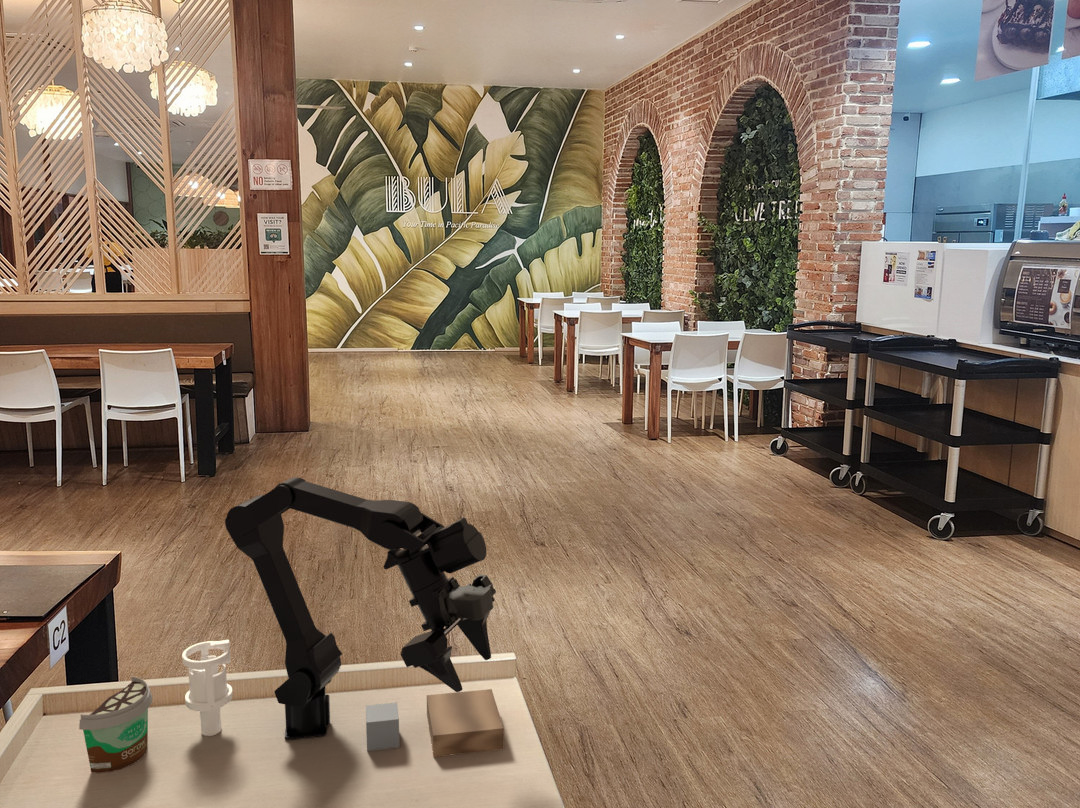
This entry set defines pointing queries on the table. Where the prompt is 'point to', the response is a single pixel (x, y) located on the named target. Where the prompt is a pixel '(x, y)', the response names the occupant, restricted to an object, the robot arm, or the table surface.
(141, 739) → the food container
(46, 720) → the table surface
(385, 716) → the slate cube
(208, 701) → the strainer
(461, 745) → the block
